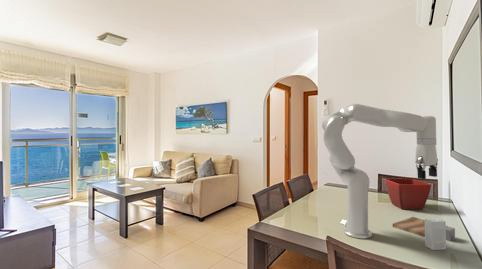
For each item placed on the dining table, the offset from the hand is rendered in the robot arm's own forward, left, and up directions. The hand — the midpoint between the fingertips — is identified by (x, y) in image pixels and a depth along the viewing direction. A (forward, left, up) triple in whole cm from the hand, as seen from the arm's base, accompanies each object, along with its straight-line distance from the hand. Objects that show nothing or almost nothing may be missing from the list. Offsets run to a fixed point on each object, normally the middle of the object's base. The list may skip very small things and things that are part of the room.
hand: (427, 177), depth 115 cm
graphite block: (+6, +2, -28) cm, 28 cm away
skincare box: (+8, -13, -28) cm, 32 cm away
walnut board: (-6, +5, -28) cm, 29 cm away
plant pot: (-28, +37, -28) cm, 54 cm away
